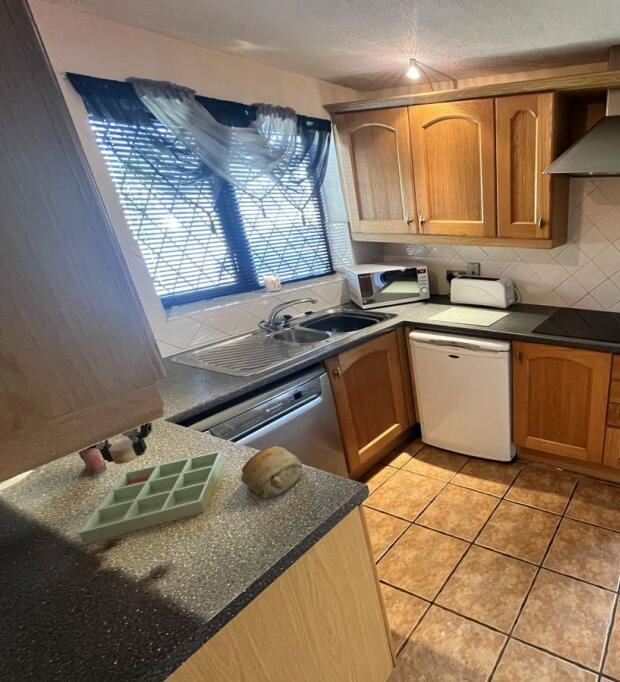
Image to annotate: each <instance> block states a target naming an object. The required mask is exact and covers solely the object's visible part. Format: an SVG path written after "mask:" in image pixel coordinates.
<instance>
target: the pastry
mask: <svg viewBox="0 0 620 682" xmlns="http://www.w3.org/2000/svg"><path fill="white" fill-rule="evenodd" d="M302 469H303V463H302V461H301V460H300V459H299V458H298V457H297V456H296V455H295V454H293V453H291V452H290V451H289V450H287V449H286V448H284V447H283V446H276V445H271V446H269V447H267V448H264V449H263V450H260V451H258V452H256V453H255V454H253V455H252V456H251V457H250V458H249V459H248V460H247V462H246V463H245V465H243V466H242V469H241V473H242V475H241V477H240V478H241V479H240V482H242V483H243V484H244V485H246V486H247V487H248V488H249V489H250V490H251V491H252V493H254V494H256V495H259V496H262V497H263V499H264V500H270V499H272V498H274V497H277V496H279V495H281V494H282V493H284V492H285V491H287V490H288V489H289V488H291V487H292V486H293V485H294V484H295V483H297V482H298V480H299V479H300V478H301V472H302Z"/></svg>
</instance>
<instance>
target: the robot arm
mask: <svg viewBox="0 0 620 682" xmlns="http://www.w3.org/2000/svg"><path fill="white" fill-rule="evenodd" d="M139 427H140V428H138V427H137V428H135V429H133V430H130V431H127V432H125V433H122V434H121V435H122V436H124V437H127V438H128V440H129V439H130V440H131V441H132V442H133V443H132V444H133V447H134V449H135V451H136V453H137V455H138V456H139V457H140V456H143V455H144V453H145V452H146V450H147V448H148V446H147V443H146V442H145V439H146V438H147V437H148V436H149V435H150V433H151V432H152V431H153V430H152V427H153V426H152V422H151V423H147V424H145V425H142V426H140V425H139ZM109 440H110V439H109ZM109 440H106V441H104V442H101V443H99V444H96V445H94V446H91V447H89V448H87V450H89V449H91V448H96V449H98V451H99V454H100V456H101V458H102V459H103V460H104V461H105V462H106V461H107V462H108V463H112V462H113V463H114V461H113V459H112V457H111V455H110V453H109V451H108V449H109V448H110V447H111V446H112V445H113V444H112V443H109Z"/></svg>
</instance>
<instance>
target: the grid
mask: <svg viewBox="0 0 620 682" xmlns="http://www.w3.org/2000/svg"><path fill="white" fill-rule="evenodd" d="M225 461H226V458H225V456H224V452H223V450H218V451H214V452H209V453H205V454H200V455H197V456H192V457H187V458H183V459H177V460H174V461H170V462H166V463H160V464H156V465H152V466H147V467H144V468H139V469H133V470H130V471H125V472H123V473H122V474H121V476H120V477H119V478H118V479H117V481H116V482H115V484H114V485H113V486H112V487H111V488H110V490H109V491H108V493H107V494H106V496H105V497H104V498H103V499H102V501H101V502H100V503H99V505H98V506H97V507H96V509H95V510H94V511H93V513H92V514H91V515H90V517H89V518H88V520H87V521H86V522H85V523H84V525H82V527H81V529H80V530H79V531H78V533H77V534H78V536H79V538H80V540H81V541H82V543H83V545H87V544H88V545H89V544H92V543H95V542H99V541H103V540H106V539H110V538H113V537H114V538H115V537H118V536H121V535H124V534H128V533H132V532H135V531H136V532H137V531H139V530H142V529H146V528H151V527H154V526H157V525H158V526H159V525H161V524H165V523H168V522H174V521H176V520H179V519H184V518H187V517H191V516H195V515H199V514H201V513H205V512H206V509H207V506H208V504H209V502H210V499H211V496H212V494H213V491H214V489H215V486H216V485H217V481H218V479H219V476H220V474H221V471H222V468H223V466H224V463H225Z"/></svg>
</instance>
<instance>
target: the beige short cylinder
mask: <svg viewBox="0 0 620 682" xmlns="http://www.w3.org/2000/svg"><path fill="white" fill-rule="evenodd" d="M132 443H133V442H132V441H131V440H130V439H129V438H128V439H125V440H121V441H118V442H116V443H114V444H111V445H112V446H111V447H110V448H109V449H108V451H109V453H110V455H111V457H112V459H113V463H114V464H116V465H121V464H127V463H130V462H132V461H134V460H136V459H137V458H139V457H140V456H138V455H137V453H136V451H135V449H134V447H133V444H132Z"/></svg>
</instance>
